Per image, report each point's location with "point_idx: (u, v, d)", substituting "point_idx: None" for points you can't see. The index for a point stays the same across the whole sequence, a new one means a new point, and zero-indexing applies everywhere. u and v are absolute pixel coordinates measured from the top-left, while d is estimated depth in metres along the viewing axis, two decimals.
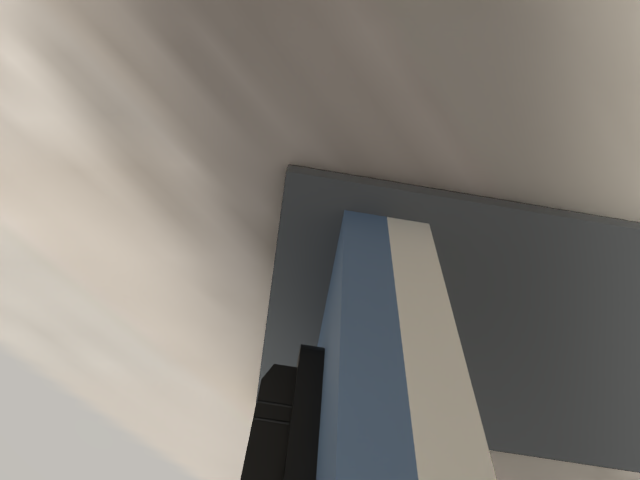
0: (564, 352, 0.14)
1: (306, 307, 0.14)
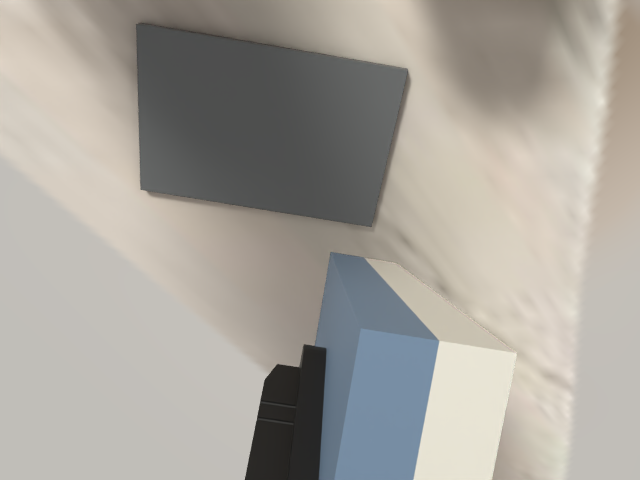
0: (304, 137, 0.25)
1: (159, 110, 0.24)
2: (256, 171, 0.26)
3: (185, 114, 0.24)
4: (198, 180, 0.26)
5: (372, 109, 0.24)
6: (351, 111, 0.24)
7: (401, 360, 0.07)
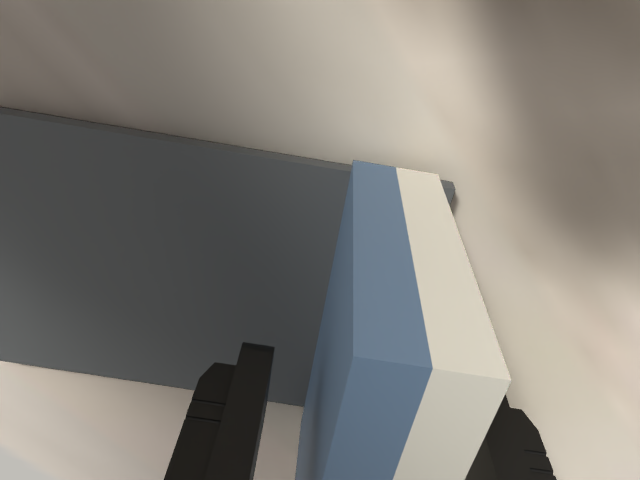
0: (267, 292, 0.14)
1: (7, 246, 0.14)
2: (187, 339, 0.15)
3: (54, 252, 0.14)
4: (91, 349, 0.15)
5: None
6: None
7: (378, 168, 0.12)
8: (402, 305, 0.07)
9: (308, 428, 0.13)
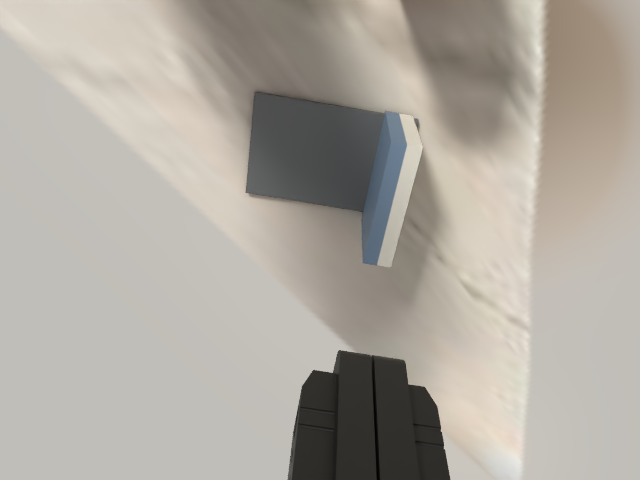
0: (353, 160, 0.40)
1: (263, 143, 0.39)
2: (321, 181, 0.41)
3: (279, 145, 0.39)
4: (283, 186, 0.41)
5: None
6: None
7: (393, 113, 0.37)
8: (401, 137, 0.33)
9: (370, 200, 0.38)
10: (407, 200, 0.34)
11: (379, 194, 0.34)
